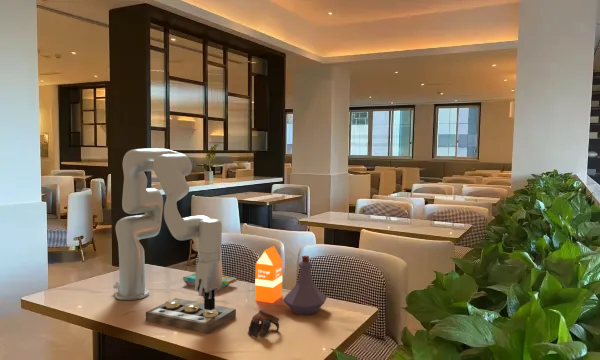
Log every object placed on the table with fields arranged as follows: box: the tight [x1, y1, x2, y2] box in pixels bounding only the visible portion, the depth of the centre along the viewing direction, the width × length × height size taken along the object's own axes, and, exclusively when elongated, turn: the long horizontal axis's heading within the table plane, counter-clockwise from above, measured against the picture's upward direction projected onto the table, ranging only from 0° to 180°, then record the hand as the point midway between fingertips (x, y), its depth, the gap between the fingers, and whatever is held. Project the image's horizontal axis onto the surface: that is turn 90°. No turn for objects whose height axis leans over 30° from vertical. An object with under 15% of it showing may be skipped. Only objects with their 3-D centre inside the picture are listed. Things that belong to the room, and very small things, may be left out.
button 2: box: [203, 310, 218, 318], centre depth 159 cm, size 5×5×2 cm
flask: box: [282, 255, 327, 316], centre depth 171 cm, size 16×16×20 cm
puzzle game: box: [182, 272, 238, 290], centre depth 199 cm, size 12×5×20 cm
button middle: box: [184, 303, 199, 315], centre depth 162 cm, size 5×5×2 cm
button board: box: [145, 297, 237, 335], centre depth 162 cm, size 26×16×3 cm, turn 66°
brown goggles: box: [247, 309, 280, 339], centre depth 150 cm, size 12×10×8 cm
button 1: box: [164, 299, 180, 311], centre depth 165 cm, size 5×5×2 cm
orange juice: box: [254, 245, 283, 304], centre depth 184 cm, size 8×9×20 cm
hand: (209, 308), depth 159 cm, fingers closed
